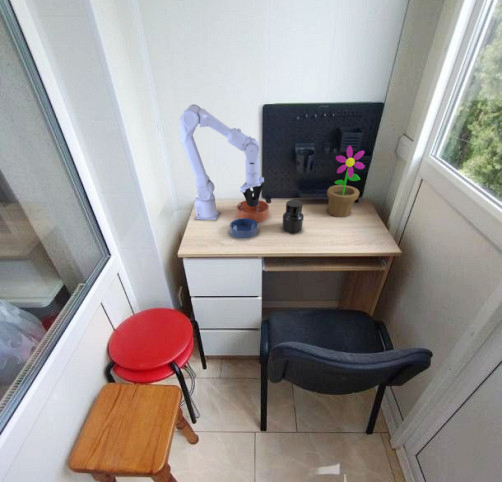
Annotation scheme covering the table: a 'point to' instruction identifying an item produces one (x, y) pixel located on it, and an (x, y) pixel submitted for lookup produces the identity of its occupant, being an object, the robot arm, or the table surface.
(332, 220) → the table surface
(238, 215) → the bowl
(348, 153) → the flowerpot
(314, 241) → the table surface
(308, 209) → the table surface
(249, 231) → the blue round dish
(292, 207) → the ink bottle
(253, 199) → the ring
